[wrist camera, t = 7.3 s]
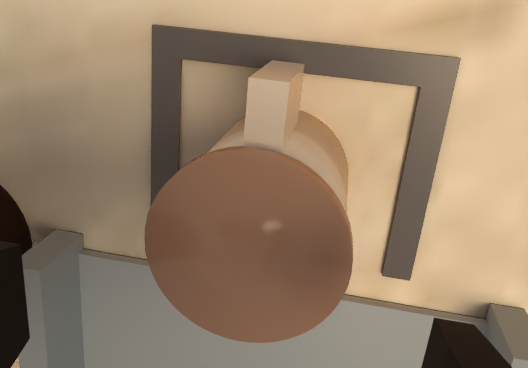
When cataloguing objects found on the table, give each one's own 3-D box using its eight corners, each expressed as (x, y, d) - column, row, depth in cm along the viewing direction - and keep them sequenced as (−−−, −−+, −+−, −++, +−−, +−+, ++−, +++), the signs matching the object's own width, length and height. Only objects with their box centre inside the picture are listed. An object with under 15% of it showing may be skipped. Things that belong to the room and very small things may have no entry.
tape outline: (459, 57, 16) (460, 58, 15) (409, 277, 18) (410, 280, 18) (154, 24, 17) (152, 24, 17) (152, 234, 20) (150, 237, 20)
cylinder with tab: (372, 66, 16) (381, 103, 10) (342, 248, 19) (335, 360, 13) (217, 48, 17) (145, 74, 11) (207, 226, 19) (144, 322, 14)
